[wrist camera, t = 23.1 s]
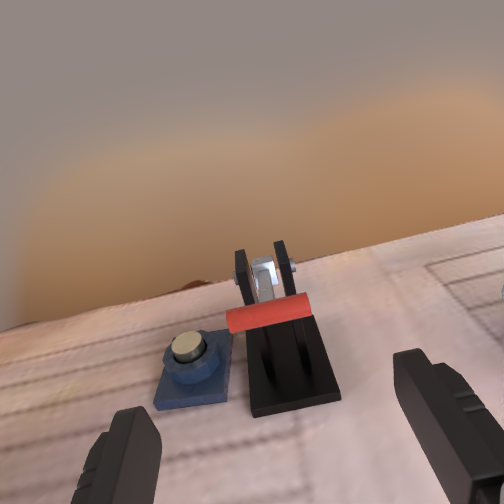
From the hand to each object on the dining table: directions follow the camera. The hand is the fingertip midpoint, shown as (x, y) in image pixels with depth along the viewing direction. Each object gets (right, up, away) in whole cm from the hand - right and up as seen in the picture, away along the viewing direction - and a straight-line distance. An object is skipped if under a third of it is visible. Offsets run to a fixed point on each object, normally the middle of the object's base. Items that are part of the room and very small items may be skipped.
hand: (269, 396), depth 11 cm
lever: (+1, +1, +17) cm, 17 cm away
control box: (-7, -10, +31) cm, 33 cm away
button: (-8, -7, +29) cm, 31 cm away
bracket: (+4, -8, +28) cm, 30 cm away
